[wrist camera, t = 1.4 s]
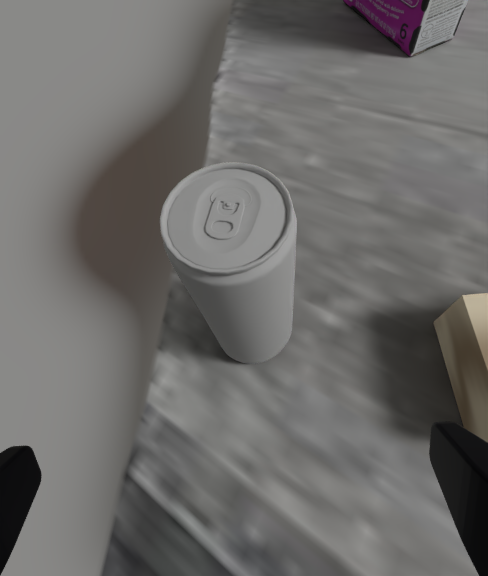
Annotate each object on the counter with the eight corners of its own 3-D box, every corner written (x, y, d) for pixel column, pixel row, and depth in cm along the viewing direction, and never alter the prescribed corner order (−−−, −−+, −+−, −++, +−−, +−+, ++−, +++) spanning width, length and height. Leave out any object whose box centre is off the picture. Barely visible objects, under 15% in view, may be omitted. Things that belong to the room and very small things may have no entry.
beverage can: (297, 300, 23) (307, 164, 13) (285, 373, 22) (284, 287, 11) (226, 289, 24) (178, 153, 14) (208, 358, 22) (135, 264, 12)
